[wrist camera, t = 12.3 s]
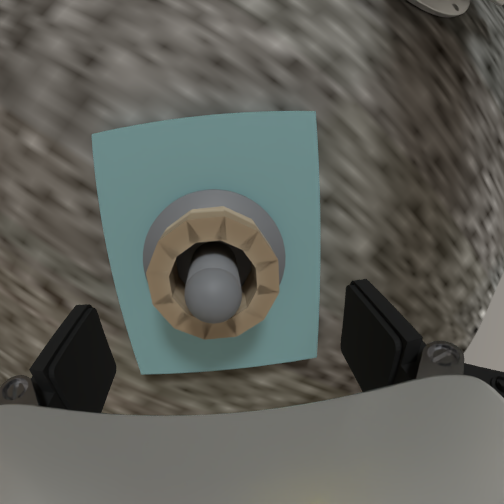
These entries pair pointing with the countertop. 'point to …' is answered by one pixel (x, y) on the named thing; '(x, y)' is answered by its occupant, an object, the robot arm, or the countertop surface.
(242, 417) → the robot arm
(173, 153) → the teal plate with knob
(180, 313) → the ring
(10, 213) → the countertop surface
